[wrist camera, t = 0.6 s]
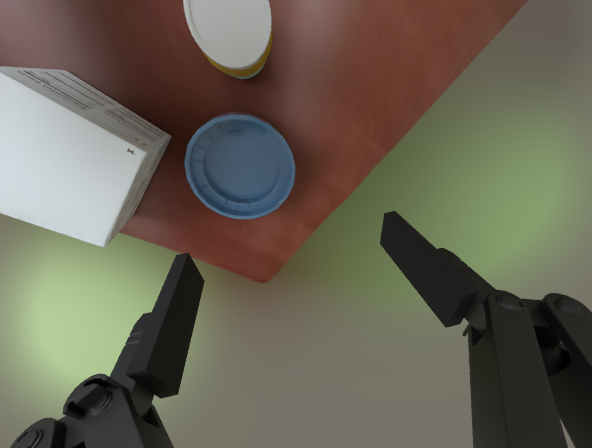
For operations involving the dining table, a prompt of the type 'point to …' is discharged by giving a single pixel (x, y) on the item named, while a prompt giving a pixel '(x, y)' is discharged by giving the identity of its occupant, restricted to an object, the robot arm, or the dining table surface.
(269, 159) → the bowl
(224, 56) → the bottle
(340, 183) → the dining table surface
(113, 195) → the supplement box
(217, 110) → the dining table surface
